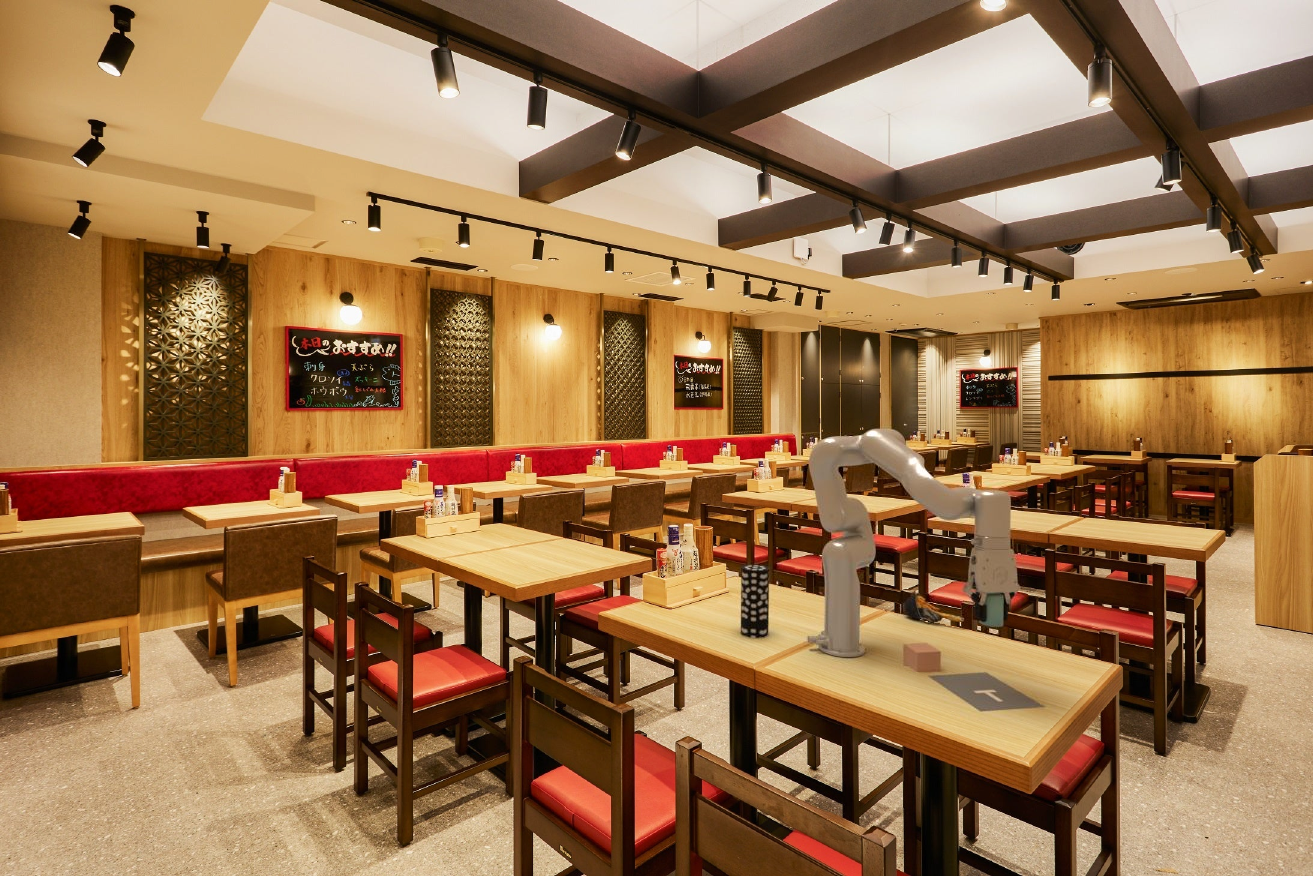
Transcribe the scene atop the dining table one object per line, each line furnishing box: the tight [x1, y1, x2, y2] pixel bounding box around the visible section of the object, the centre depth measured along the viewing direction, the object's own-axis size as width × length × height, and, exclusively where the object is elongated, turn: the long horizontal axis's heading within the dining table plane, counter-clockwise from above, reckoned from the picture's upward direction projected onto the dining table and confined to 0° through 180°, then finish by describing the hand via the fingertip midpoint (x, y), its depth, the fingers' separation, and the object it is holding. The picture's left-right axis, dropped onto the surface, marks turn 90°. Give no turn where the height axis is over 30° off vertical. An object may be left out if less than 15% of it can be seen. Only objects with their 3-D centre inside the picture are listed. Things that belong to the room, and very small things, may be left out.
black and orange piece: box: [902, 592, 965, 623], centre depth 208 cm, size 9×11×18 cm
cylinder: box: [978, 593, 1004, 628], centre depth 152 cm, size 5×5×7 cm
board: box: [928, 671, 1046, 712], centre depth 152 cm, size 16×20×1 cm
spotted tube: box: [740, 564, 770, 639], centre depth 195 cm, size 8×8×20 cm
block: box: [902, 642, 942, 673], centre depth 167 cm, size 6×6×6 cm
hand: (991, 619), depth 152 cm, fingers closed on cylinder, 5 cm apart
